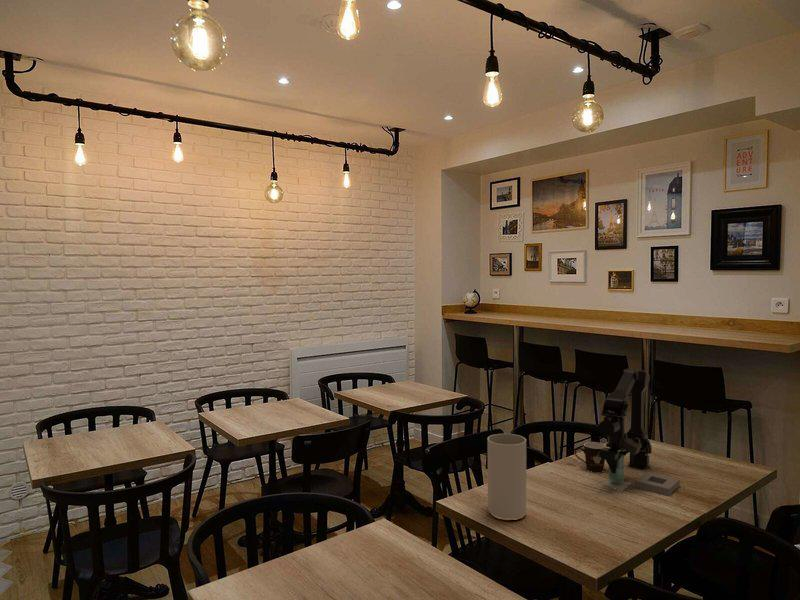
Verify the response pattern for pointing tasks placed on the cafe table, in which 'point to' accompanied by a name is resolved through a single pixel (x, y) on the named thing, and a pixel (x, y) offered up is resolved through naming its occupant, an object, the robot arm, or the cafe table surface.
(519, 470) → the cylinder vase
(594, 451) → the coffee mug
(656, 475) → the pocket plate
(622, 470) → the peg
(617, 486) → the mat
